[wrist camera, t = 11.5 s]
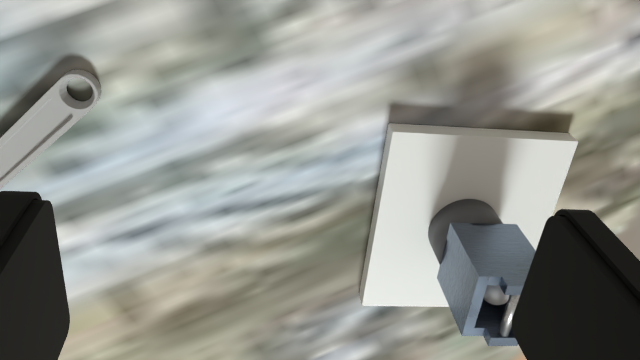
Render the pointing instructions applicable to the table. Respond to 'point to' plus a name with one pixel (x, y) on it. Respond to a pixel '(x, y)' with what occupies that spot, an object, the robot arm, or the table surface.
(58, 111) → the adjustable wrench
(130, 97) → the table surface
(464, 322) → the coupler
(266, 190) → the table surface
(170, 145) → the table surface
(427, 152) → the shaft mount
